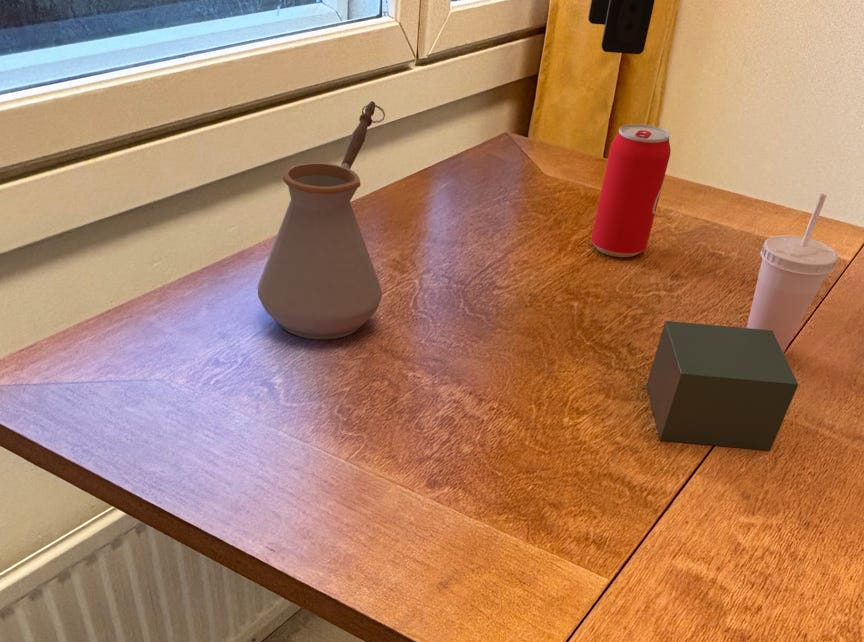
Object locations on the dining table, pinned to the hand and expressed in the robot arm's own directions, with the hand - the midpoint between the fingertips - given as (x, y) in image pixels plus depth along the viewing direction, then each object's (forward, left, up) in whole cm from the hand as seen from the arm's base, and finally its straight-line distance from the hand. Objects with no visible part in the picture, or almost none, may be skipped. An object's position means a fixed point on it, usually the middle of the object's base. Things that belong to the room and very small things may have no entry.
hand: (613, 37), depth 71 cm
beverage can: (-8, -18, -23) cm, 31 cm away
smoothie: (-19, +4, -23) cm, 31 cm away
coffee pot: (+22, +1, -23) cm, 32 cm away
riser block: (-12, +17, -23) cm, 31 cm away
